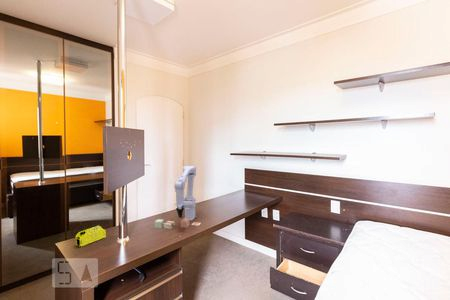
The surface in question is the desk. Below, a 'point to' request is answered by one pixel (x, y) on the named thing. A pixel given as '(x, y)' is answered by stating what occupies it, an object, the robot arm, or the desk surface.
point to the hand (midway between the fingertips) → (180, 215)
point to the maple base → (169, 224)
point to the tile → (196, 223)
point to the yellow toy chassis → (90, 235)
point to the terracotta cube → (185, 223)
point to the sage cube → (159, 223)
